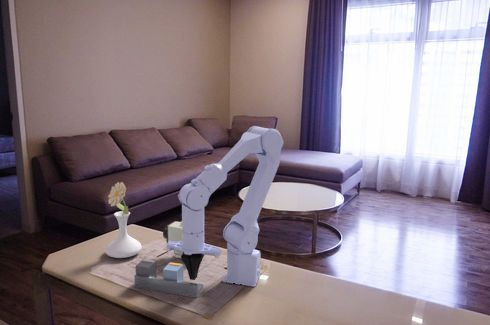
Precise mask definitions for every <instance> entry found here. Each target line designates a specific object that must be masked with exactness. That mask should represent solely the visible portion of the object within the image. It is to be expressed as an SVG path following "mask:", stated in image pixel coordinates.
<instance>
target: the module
mask: <svg viewBox="0 0 490 325" xmlns="http://www.w3.org/2000/svg"><path fill="white" fill-rule="evenodd" d="M162 276H163V277H162V278H163V279H169V280H176V281H182V282H183V281H184V263H179V262H178V263H177V262H168V264H167V265H166V266H165V267H164V268H163V269H162Z"/></svg>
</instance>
